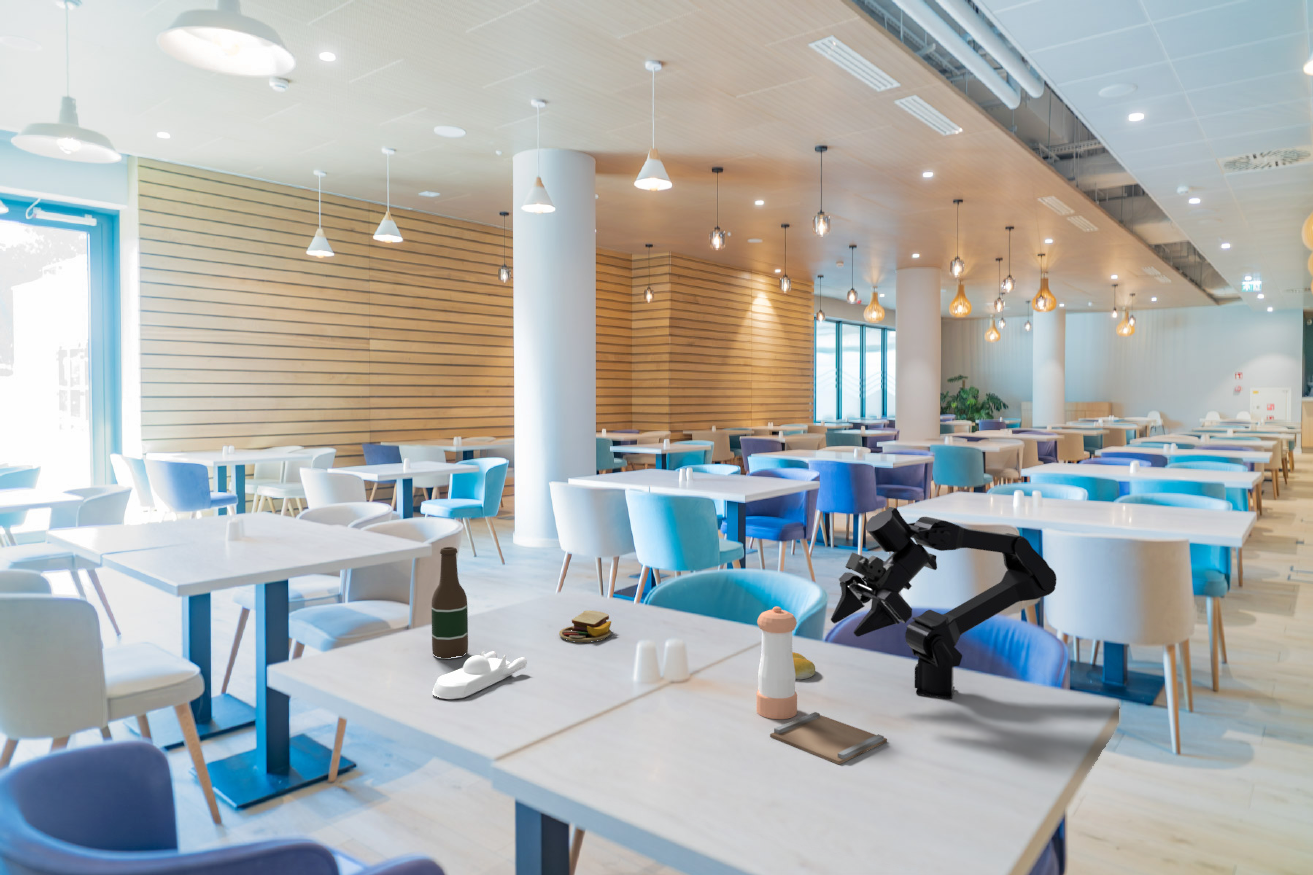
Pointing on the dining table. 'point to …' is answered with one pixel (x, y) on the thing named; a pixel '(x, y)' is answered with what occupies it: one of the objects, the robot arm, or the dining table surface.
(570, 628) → the toy sandwich meal
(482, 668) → the white elongated plastic piece
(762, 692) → the pepper shaker
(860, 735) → the serving tray
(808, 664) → the bread roll
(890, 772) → the dining table surface
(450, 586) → the beer bottle
